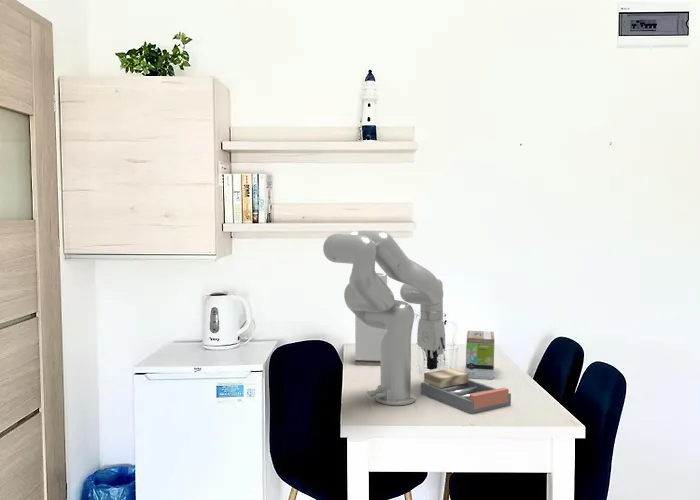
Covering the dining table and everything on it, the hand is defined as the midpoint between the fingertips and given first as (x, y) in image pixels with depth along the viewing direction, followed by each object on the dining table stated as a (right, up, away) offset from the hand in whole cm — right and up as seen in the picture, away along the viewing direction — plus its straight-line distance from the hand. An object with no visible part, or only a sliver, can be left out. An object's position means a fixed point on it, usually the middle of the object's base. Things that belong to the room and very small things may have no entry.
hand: (432, 368), depth 212 cm
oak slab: (+4, -3, -7) cm, 9 cm away
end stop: (+14, -6, -24) cm, 29 cm away
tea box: (+20, -5, +17) cm, 26 cm away
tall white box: (-19, -4, +34) cm, 39 cm away
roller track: (+8, -7, -15) cm, 18 cm away
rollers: (+8, -6, -14) cm, 17 cm away
